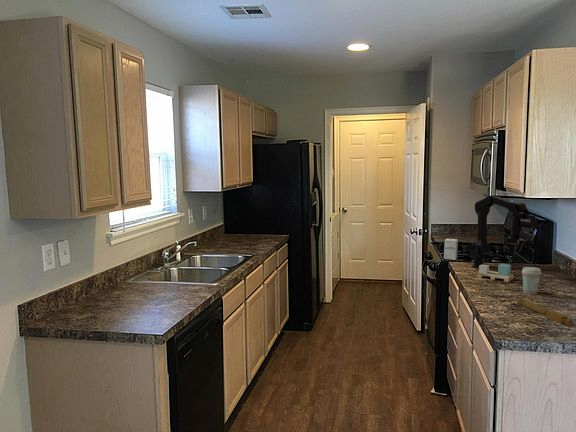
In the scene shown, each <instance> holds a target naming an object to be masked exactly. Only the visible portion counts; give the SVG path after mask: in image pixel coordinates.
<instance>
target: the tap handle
mask: <svg viewBox="0 0 576 432" xmlns="http://www.w3.org/2000/svg"><path fill="white" fill-rule="evenodd" d="M516 303H517V304H518V305H520V306H522V307H524V308H526V309H529V310H532V311H535V312H537V313H539V314H542V315H543V316H545V318H547V319H549V320H551V321H554V322H556V323H558V324H560V325H566V326H568V327H572V326H573V325H574V320H572V319H571V318H569V317H568V316H567V315H565V314H563V313H561V312H558V311H555V310H552V309H545V308H543V307H542V306H541V307H540V306H539V305H536V304H535V303H533V302H531V301H529V300H526V299H524V298H521V297H519V298H517V300H516Z"/></svg>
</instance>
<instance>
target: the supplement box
mask: <svg viewBox="0 0 576 432" xmlns="http://www.w3.org/2000/svg"><path fill="white" fill-rule="evenodd" d="M458 244H459V239H458V238H448V237H447V238H446V239H444V247H443V249H444V250H443V251H444V252H443V260H453V261H455V260H457V259H458V246H459V245H458Z"/></svg>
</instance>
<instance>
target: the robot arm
mask: <svg viewBox="0 0 576 432" xmlns="http://www.w3.org/2000/svg"><path fill="white" fill-rule="evenodd" d="M494 205H497V206H500V207H501V208H505V209H506V210H508V212H510V213H511V214H509V215H508V217H509V218H511V227H510V228H509V229H510V235H509V236H508V237H506V238H505V241H504V243H505V244H506V246H507V248H508V249H509V252H510V254H511V256H513V257H514V256H515V254H516V252H517V254H519V253H521V250H522V247H523V244H524V243H525V242H526V241H529V242H532V241H533V240H534V238H535V236H536V235H535V231H533V230H529V231H527V230H525V228H528V229H529V228H530V229H536V228H537V227H538V224H539V222H538V218H537V217H536V215H534V214H532V215H531V213H530V212H529V210H528V207H527V206H526V203H525V202H521V201H512V200H509V199H505V198H503V197H501V196H500V197H499V196H498V195H495V194H493V195H488V196H487V197H484V198H483V199H480V200H478V201H476V202H475V203H474V210H475V211H474V212H475V214H476V216H477V240H476V242H475V244H474V247H473V248H474V249H472V251H471V252H470V254H469V255H470V257H471V258H473V265H471V266H470V267H471V268H475V269H476V268H477V269H479V266H480V265H485V264H484V263H485V258H487V257H488V256H489V254H490V251H491V243H489V242H488V241H487V237H488V236H487V232H488V230H487V224H488V221H487V220H488V215H489V213H490V211H491V208H492V207H493V206H494Z"/></svg>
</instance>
